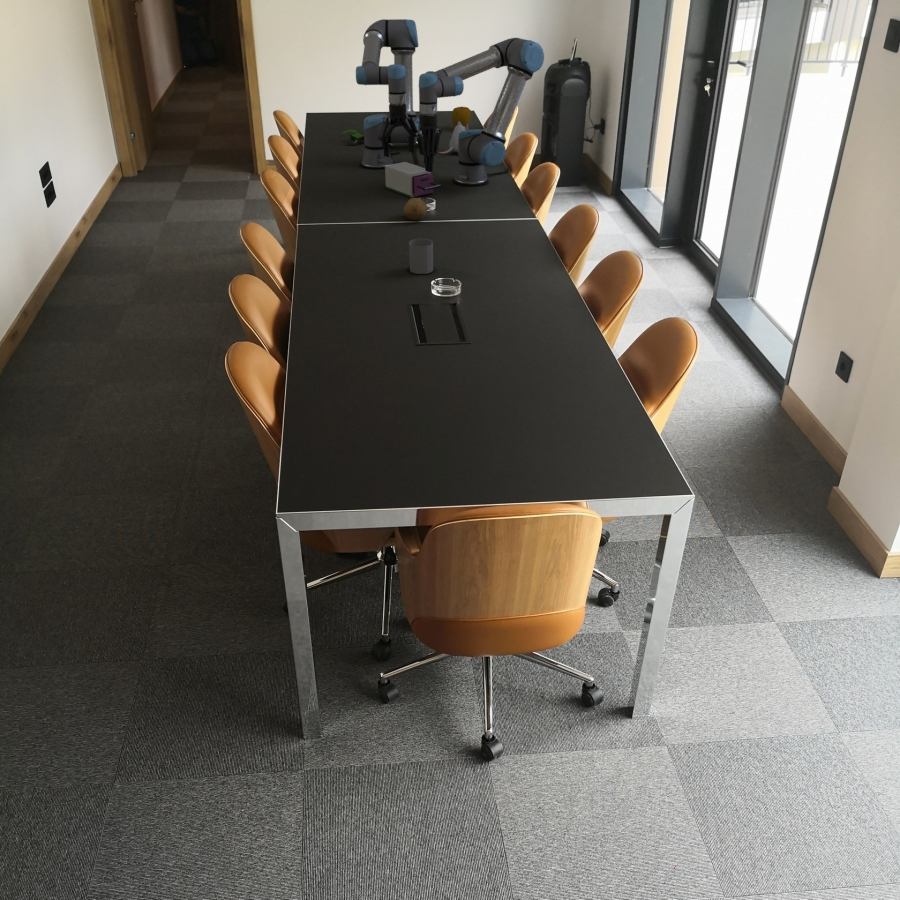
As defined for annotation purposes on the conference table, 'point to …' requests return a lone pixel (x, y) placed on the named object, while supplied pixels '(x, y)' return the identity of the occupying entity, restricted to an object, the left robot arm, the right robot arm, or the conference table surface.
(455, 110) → the apple
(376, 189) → the conference table surface
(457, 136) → the toy
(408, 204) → the potato
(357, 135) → the green irregular shape
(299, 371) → the conference table surface
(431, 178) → the drawer
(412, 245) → the cup
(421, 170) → the cabinet
